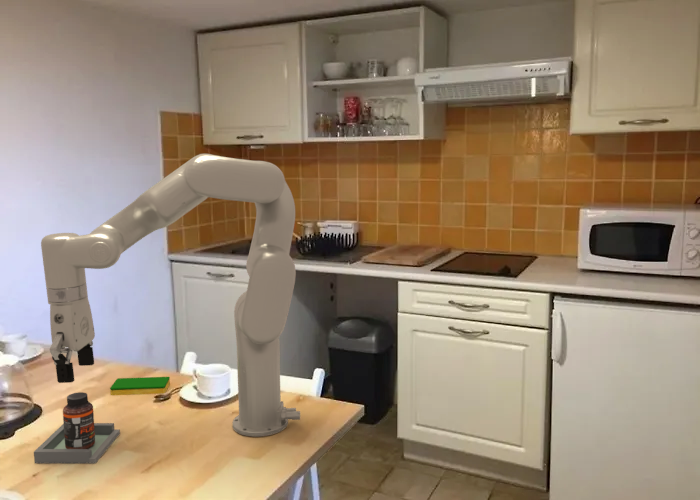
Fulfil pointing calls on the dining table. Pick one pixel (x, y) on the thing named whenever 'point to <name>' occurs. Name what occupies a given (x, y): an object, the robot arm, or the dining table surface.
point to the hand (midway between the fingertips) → (76, 373)
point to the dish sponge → (140, 386)
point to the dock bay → (57, 452)
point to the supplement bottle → (78, 422)
